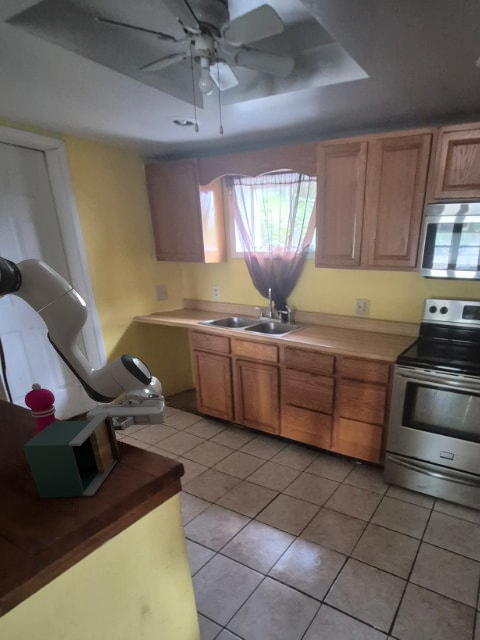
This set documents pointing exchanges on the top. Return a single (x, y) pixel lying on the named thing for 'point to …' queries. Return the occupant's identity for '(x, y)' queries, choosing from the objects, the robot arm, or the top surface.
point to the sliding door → (105, 445)
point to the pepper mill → (41, 406)
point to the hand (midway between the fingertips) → (117, 428)
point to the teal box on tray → (66, 459)
